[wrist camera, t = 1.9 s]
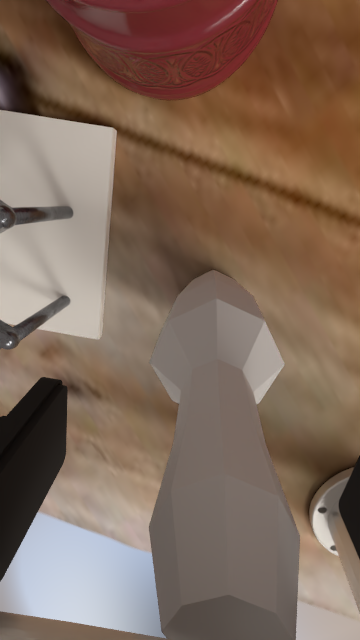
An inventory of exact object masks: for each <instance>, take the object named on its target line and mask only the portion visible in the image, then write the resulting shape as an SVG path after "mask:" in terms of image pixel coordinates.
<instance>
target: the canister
mask: <svg viewBox="0 0 360 640" xmlns="http://www.w3.org/2000/svg"><path fill="white" fill-rule="evenodd" d="M46 1H47V2H48V4H49V5H50V6H51V7H52V8H53V9H54V10H55V11H56V12H57V13H58V14H59V15H60V16H62V17H63V18H64V19H65V20H66V21H67V22H68V23H69V25H70V26H71V27H72V29H73V30H74V32H75V34H76V36H77V38H78V39H79V41H80V43H81V44H82V46H83V47H84V48H85V50H86V51H87V53H88V54H89V55H90V56H91V57H92V59H93V60H94V61H95V62H96V63H97V64H98V66H99V67H100V68H101V69H102V70H103V71H104V72H105V73H106V74H107V75H109V76H110V77H111V78H112V79H113V80H115V81H116V82H117V83H119V84H120V85H122V86H124V87H125V88H127V89H129V90H131V91H133V92H135V93H138V94H140V95H144V96H147V97H150V98H155V99H160V100H182V99H188V98H192V97H195V96H198V95H201V94H203V93H205V92H208V91H210V90H211V89H213V88H215V87H217V86H218V85H219V84H221V83H222V82H224V81H225V80H226V79H227V78H229V77H230V76H231V75H232V74H233V73H234V72H235V71H236V70H237V69H238V68H239V67H240V66H241V65H242V64H243V63H244V62H245V61H246V59H247V58H248V57H249V56H250V54H251V53H252V52H253V50H254V49H255V47H256V46H257V45H258V43H259V41H260V40H261V38H262V36H263V35H264V33H265V31H266V29H267V27H268V25H269V23H270V20H271V18H272V16H273V13H274V10H275V7H276V5H277V2H278V0H46Z"/></svg>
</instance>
